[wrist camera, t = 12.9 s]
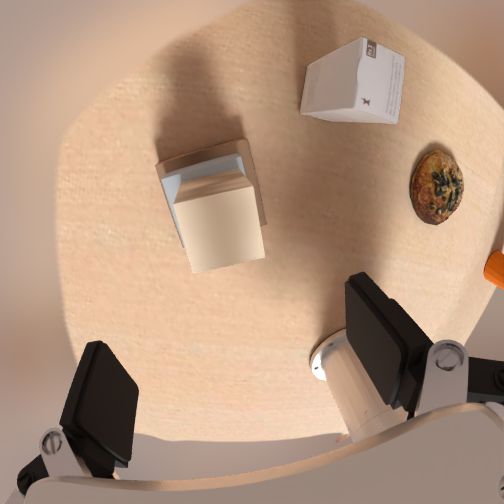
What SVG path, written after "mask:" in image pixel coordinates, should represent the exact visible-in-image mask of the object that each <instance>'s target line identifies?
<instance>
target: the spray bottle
mask: <svg viewBox="0 0 504 504" xmlns="http://www.w3.org/2000/svg"><path fill="white" fill-rule="evenodd" d="M484 277H485V279H487V280H489V281H490V282H492V283H493V284H495V285H497V286H498V287H500V288H501V289H503V290H504V254H503V253H501V252H500V251H498V250H497V251H495V252H494V253H493V254H492V255H491V256H490V258H489V259H488V261H487V263H486V266H485V269H484Z"/></svg>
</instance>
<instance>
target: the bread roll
mask: <svg viewBox="0 0 504 504" xmlns="http://www.w3.org/2000/svg"><path fill="white" fill-rule="evenodd" d="M463 191H464V181H463V176H462V172H461V170H460V168H459V166H458V165H457V163H456V162H455V161H454V160H453V158H451V157H449V155H446V154H444V153H442V152H441V151H440V150H435V151H433V152H431V153H430V154H427V155H425V156H424V158H423V160H422V161H421V162H420V164H419V165H418V166H417V168H416V170H415V173H414V176H413V179H412V181H411V195H410V197H411V200H412V205H413V208H414V210H415V212H416V214H417V216H418V217H419V218H420V219H421V220H422V221H424V222H425V223H427V224H432V225H438V224H440V223H442V222H444V221H445V220H447V219H448V217H449V216H450V215H451V214H452V213H453V212H454V211H455V210H456V209H457V207H458V206H459V204H460V202H461V199H462V195H463Z"/></svg>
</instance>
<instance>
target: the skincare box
mask: <svg viewBox="0 0 504 504" xmlns="http://www.w3.org/2000/svg"><path fill="white" fill-rule="evenodd" d="M404 66H405V56H403V55H401V54H399V53H397V52H395V51H393V50H391V49H388V48H386V47H384V46H382V45H380V44H378V43H376V42H373V41H371V40H369V39H367V38H364V37H360V38H358V39H356V40H354V41H352V42H350V43H348V44H346V45H344V46H342V47H340V48H338V49H336V50H334V51H332V52H330V53H329V54H327V55H325V56H323V57H321V58H319V59H318V60H316V61H314V62H312V63H311V64H309V65H308V66H307V71H306V77H305V83H304V89H303V95H302V101H301V107H300V114H302V115H306V116H310V117H314V118H318V119H322V120H326V121H330V122H364V123H385V124H398V118H399V111H400V103H401V95H402V87H403V77H404Z"/></svg>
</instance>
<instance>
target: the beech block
mask: <svg viewBox="0 0 504 504" xmlns="http://www.w3.org/2000/svg"><path fill="white" fill-rule="evenodd" d="M173 206H174V210H175V213H176V217H177V221H178V224H179V228H180V231H181V235H182V238H183V241H184V245H185V248H186V251H187V255H188V258H189V261H190V265H191V268H192V271H193V274H195V273H199V272H204V271H208V270H212V269H217V268H221V267H226V266H230V265H234V264H239V263H243V262H247V261H252V260H256V259H260V258H265V253H264V247H263V241H262V235H261V229H260V223H259V217H258V211H257V206H256V200H255V194H254V188H253V185H252V184H251V183H250V182H249V180H248V179H247V178H246V177H245V175H244V174H243V173H242V172H241V170H240V169H234V170H229V171H225V172H220V173H216V174H211V175H207V176H202V177H198V178H194V179H190V180H186V181H182V182H181V184H180V186H179V189H178V192H177V195H176V198H175V200H174V203H173Z"/></svg>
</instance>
